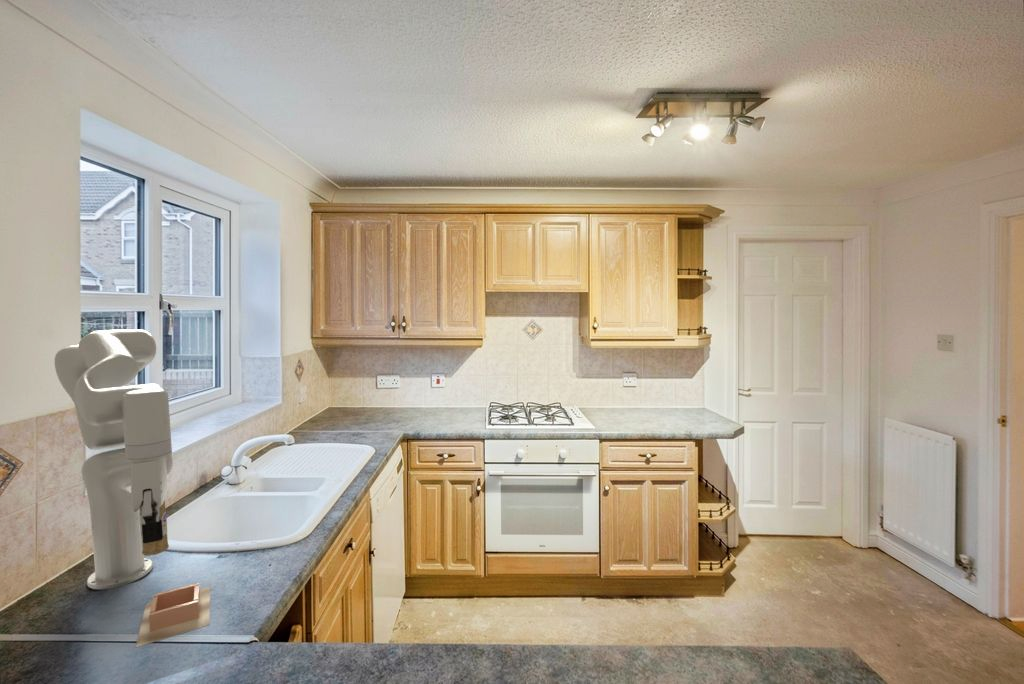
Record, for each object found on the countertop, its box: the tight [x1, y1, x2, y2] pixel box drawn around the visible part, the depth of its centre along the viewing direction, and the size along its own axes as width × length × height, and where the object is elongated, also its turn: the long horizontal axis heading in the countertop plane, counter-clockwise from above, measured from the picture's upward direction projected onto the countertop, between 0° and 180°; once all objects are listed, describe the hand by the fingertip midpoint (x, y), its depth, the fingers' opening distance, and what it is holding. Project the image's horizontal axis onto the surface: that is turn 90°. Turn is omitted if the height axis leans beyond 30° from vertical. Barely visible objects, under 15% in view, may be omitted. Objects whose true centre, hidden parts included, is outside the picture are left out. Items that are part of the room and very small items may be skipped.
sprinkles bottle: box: [139, 495, 170, 557], centre depth 98 cm, size 5×5×14 cm
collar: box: [149, 582, 201, 632], centre depth 101 cm, size 8×8×4 cm
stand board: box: [135, 586, 211, 648], centre depth 101 cm, size 16×12×1 cm
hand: (155, 535), depth 98 cm, fingers closed on sprinkles bottle, 4 cm apart
